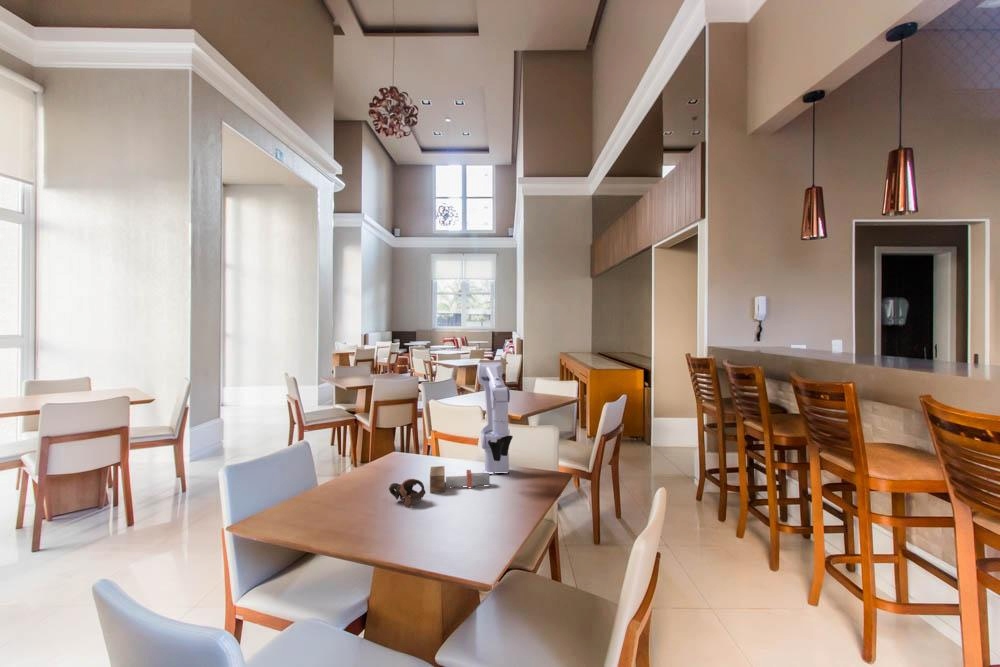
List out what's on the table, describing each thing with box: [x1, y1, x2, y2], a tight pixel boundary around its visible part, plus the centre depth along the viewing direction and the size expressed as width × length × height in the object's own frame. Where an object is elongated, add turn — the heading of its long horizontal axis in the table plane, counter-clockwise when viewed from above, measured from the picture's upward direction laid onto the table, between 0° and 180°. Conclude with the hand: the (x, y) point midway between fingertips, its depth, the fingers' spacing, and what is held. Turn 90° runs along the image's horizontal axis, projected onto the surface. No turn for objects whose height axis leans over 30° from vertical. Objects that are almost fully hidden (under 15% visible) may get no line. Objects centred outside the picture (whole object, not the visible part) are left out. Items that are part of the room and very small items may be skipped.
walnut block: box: [429, 465, 446, 494], centre depth 169 cm, size 5×12×6 cm, turn 7°
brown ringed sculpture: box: [388, 478, 427, 507], centre depth 154 cm, size 12×10×8 cm
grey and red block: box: [445, 469, 491, 489], centre depth 171 cm, size 16×6×5 cm, turn 97°
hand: (500, 458), depth 172 cm, fingers open, 7 cm apart
